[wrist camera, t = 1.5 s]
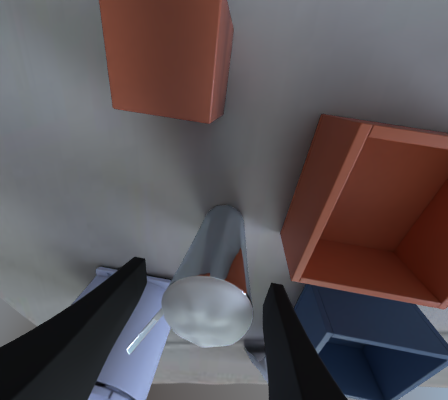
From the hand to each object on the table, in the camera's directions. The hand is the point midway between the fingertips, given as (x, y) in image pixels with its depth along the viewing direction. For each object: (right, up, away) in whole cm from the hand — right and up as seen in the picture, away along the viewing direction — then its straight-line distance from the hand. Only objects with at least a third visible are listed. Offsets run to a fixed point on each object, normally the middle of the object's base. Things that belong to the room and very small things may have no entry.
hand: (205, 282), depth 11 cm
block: (-1, +13, +1) cm, 13 cm away
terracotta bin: (+11, +5, +3) cm, 13 cm away
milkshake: (+1, +3, +6) cm, 7 cm away
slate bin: (+13, -8, +10) cm, 18 cm away
